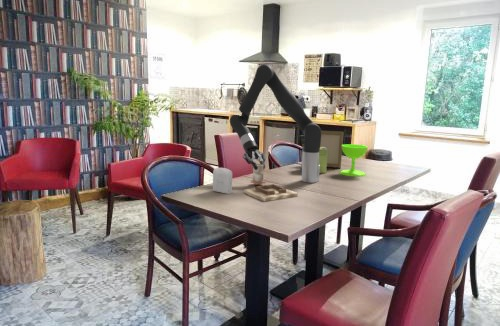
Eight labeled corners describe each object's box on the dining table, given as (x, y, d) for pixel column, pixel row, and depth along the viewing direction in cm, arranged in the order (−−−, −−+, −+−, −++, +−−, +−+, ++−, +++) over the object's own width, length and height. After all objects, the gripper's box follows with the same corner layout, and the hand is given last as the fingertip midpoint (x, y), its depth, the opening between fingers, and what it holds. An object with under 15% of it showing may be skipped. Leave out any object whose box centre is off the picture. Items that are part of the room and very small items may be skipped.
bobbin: (259, 180, 206) (259, 163, 204) (265, 183, 201) (266, 165, 199) (250, 182, 202) (250, 164, 201) (256, 184, 197) (256, 166, 196)
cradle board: (275, 187, 196) (276, 181, 195) (297, 196, 181) (298, 189, 181) (243, 192, 185) (244, 186, 185) (264, 201, 171) (264, 194, 170)
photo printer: (233, 192, 185) (233, 168, 183) (228, 194, 181) (229, 169, 179) (216, 189, 190) (216, 166, 188) (211, 191, 186) (211, 167, 184)
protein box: (326, 173, 237) (328, 149, 235) (302, 172, 238) (303, 148, 235) (323, 169, 248) (325, 146, 245) (300, 169, 248) (302, 146, 245)
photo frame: (340, 168, 251) (342, 132, 247) (308, 166, 258) (310, 130, 253) (341, 165, 265) (343, 130, 261) (311, 163, 272) (313, 129, 267)
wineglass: (362, 171, 244) (364, 144, 241) (367, 177, 228) (370, 148, 225) (338, 170, 245) (339, 143, 242) (341, 175, 230) (343, 147, 226)
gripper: (240, 140, 200) (252, 166, 192) (262, 138, 207) (274, 163, 199) (235, 148, 205) (246, 174, 197) (256, 147, 213) (268, 171, 205)
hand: (260, 168), depth 198 cm, fingers closed on bobbin, 4 cm apart
